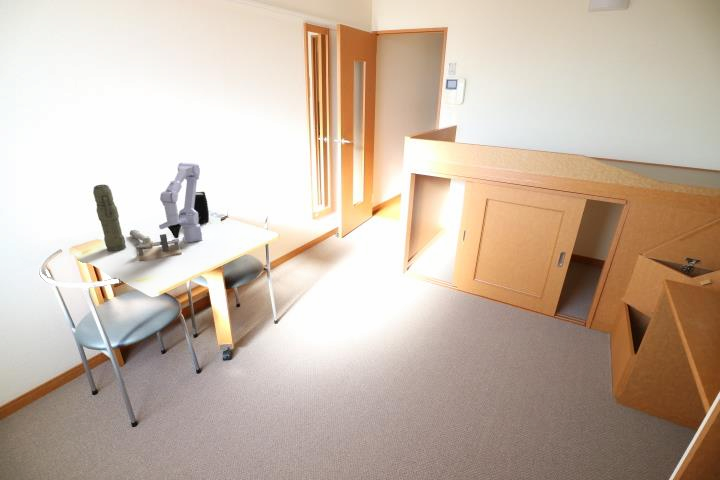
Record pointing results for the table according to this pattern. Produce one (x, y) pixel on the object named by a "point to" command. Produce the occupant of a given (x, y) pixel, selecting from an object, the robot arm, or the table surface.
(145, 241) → the toothbrush head
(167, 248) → the tall grey prism
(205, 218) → the portable speaker
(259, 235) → the table surface
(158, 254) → the pipe rig
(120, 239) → the olive green carved statue
